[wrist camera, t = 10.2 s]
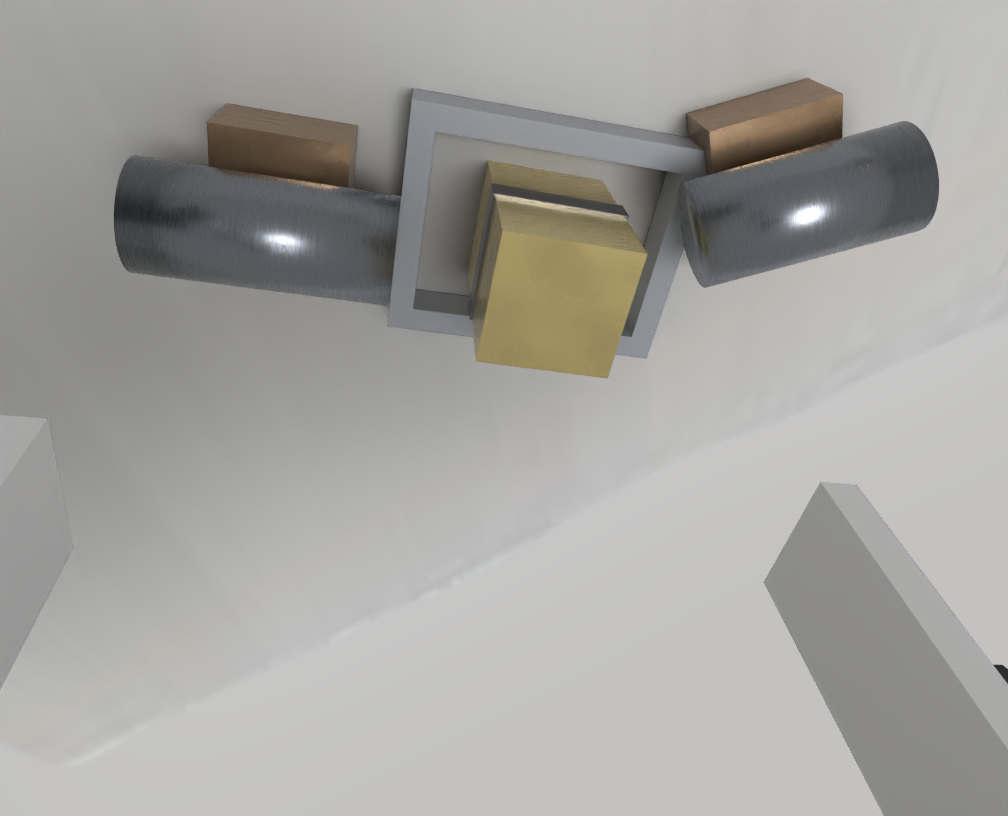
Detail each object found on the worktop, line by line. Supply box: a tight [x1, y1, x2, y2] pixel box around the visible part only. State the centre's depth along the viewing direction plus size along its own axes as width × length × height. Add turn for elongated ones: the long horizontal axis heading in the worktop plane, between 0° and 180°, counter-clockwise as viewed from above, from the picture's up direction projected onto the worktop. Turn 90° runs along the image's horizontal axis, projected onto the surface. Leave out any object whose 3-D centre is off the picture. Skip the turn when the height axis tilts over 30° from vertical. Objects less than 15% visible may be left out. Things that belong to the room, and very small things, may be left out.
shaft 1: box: [114, 104, 401, 306], centre depth 27 cm, size 9×6×7 cm, turn 80°
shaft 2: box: [678, 78, 939, 288], centre depth 28 cm, size 8×6×7 cm
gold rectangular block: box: [468, 161, 647, 378], centre depth 29 cm, size 5×5×8 cm
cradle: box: [388, 88, 706, 358], centre depth 31 cm, size 12×10×2 cm
